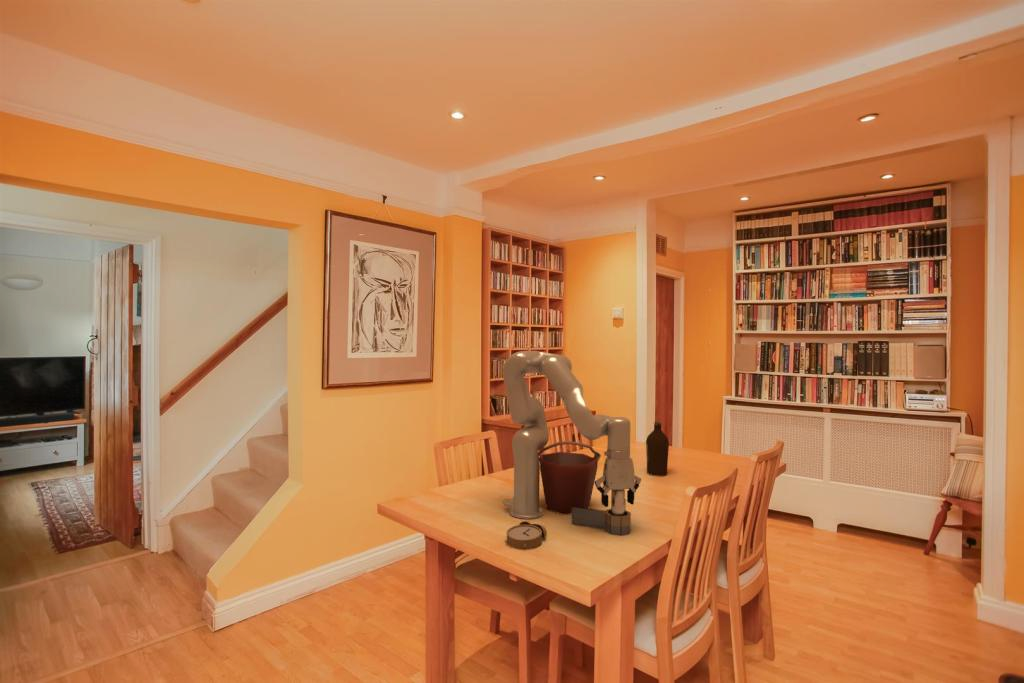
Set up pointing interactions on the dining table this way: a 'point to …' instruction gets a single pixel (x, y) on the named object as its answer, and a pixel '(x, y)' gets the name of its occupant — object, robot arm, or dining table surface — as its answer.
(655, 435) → the olive oil
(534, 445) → the robot arm
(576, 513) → the hinge
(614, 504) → the hinge pin
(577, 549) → the dining table surface
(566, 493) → the bucket
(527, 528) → the alarm clock
